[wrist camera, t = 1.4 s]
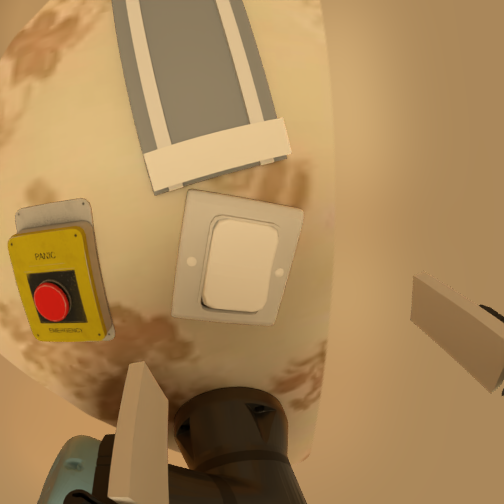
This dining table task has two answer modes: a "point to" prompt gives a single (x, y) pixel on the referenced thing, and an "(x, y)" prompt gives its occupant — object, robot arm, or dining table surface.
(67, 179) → the dining table surface
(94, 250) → the emergency button
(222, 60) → the rail board
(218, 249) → the light switch
